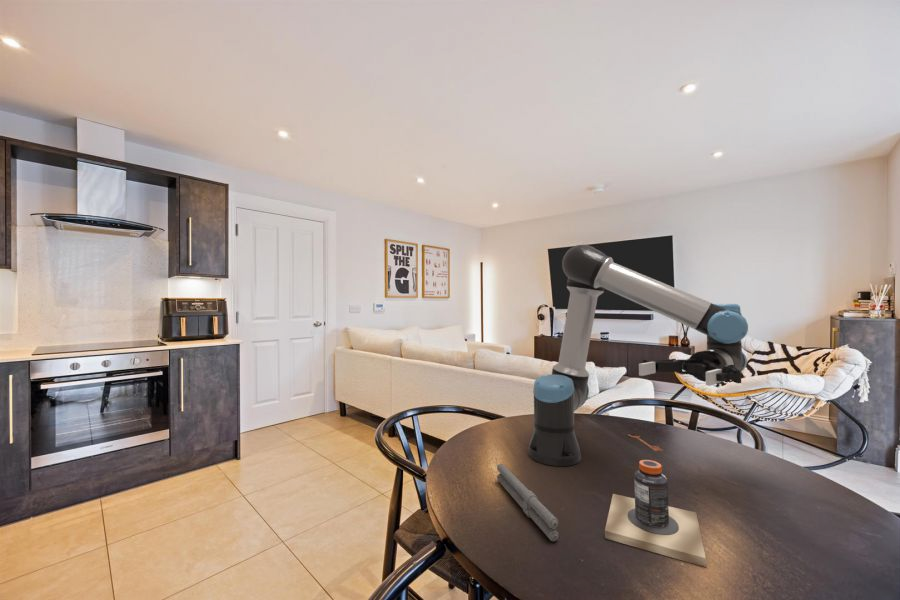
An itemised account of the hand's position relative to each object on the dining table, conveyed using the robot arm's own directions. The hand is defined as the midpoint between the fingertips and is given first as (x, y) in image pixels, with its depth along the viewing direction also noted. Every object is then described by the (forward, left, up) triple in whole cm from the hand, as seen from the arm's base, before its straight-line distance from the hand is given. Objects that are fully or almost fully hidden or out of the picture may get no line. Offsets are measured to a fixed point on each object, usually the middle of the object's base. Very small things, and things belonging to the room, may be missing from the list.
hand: (671, 374), depth 79 cm
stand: (-4, -9, -30) cm, 32 cm away
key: (-6, +44, -31) cm, 54 cm away
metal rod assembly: (-29, -14, -31) cm, 44 cm away
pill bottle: (-4, -9, -29) cm, 30 cm away
